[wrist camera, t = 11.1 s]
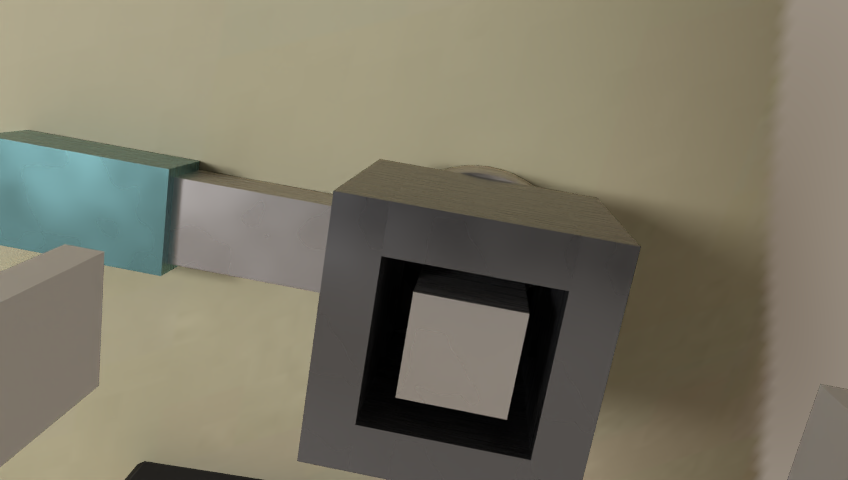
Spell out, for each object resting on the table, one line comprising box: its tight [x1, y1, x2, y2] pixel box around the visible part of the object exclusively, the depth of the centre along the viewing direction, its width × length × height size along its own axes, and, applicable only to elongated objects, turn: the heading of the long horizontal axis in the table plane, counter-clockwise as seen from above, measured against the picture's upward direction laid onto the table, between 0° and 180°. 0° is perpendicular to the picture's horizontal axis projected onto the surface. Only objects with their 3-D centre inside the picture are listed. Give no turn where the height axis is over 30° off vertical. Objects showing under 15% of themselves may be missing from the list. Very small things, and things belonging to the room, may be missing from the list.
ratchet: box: [0, 130, 535, 420], centre depth 19 cm, size 6×19×8 cm, turn 81°
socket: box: [297, 159, 641, 480], centre depth 18 cm, size 6×6×6 cm
